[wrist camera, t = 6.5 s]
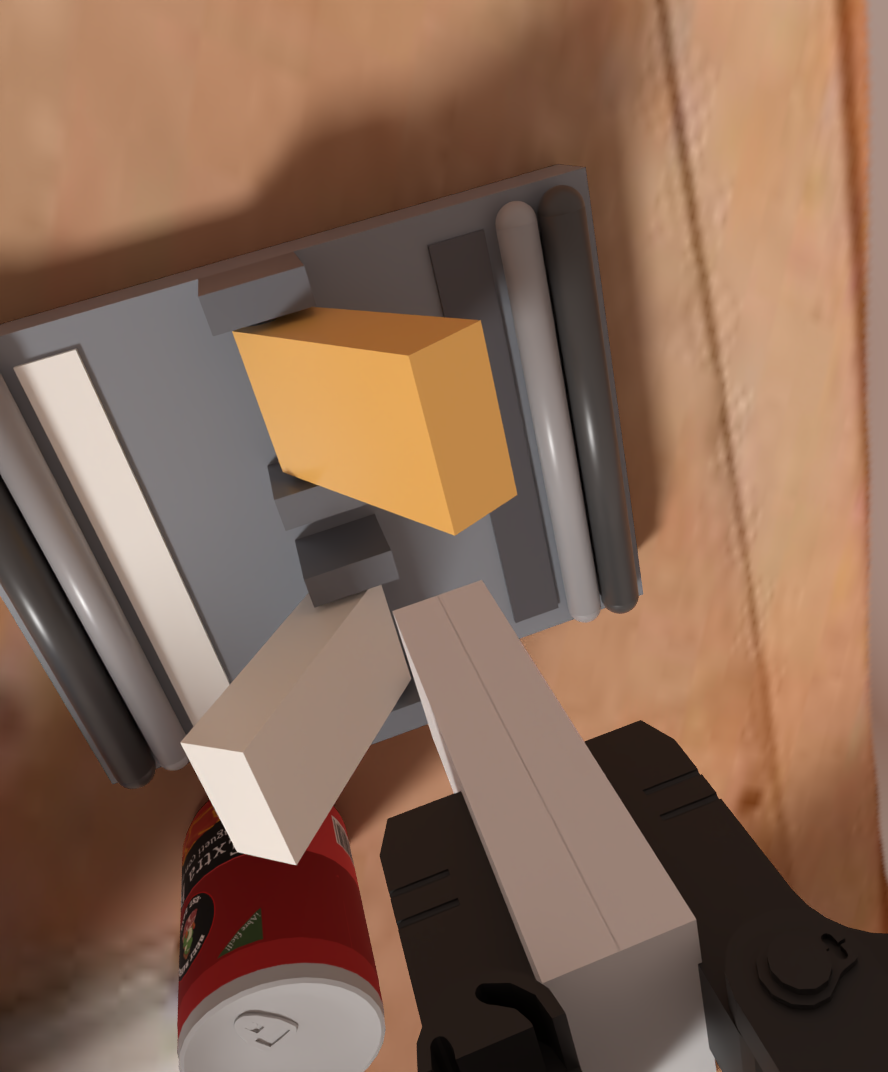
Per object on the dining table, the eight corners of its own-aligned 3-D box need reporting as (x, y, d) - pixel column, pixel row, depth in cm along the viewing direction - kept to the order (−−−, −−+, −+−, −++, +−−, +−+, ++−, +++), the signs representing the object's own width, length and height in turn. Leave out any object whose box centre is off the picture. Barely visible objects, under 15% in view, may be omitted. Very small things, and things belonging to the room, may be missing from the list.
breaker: (419, 665, 34) (296, 865, 27) (368, 660, 35) (237, 852, 28) (387, 563, 32) (243, 752, 24) (334, 562, 33) (180, 742, 25)
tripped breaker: (326, 439, 30) (517, 494, 23) (271, 467, 29) (454, 535, 22) (282, 304, 28) (480, 320, 21) (220, 329, 27) (408, 355, 20)
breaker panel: (618, 568, 39) (679, 631, 34) (117, 745, 37) (105, 842, 32) (558, 164, 31) (627, 171, 26) (-106, 354, 28) (-172, 404, 23)
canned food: (229, 752, 38) (239, 960, 29) (374, 799, 42) (426, 999, 32) (152, 870, 40) (137, 1103, 31) (297, 906, 44) (325, 1126, 34)
